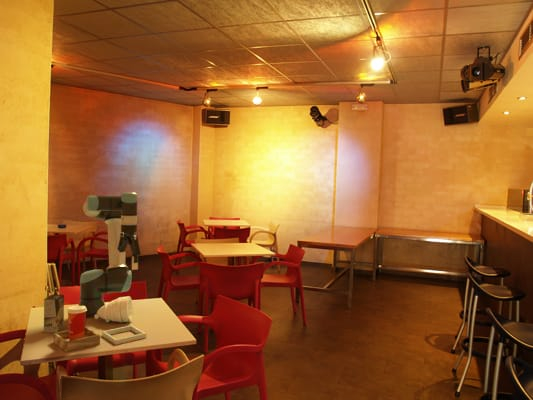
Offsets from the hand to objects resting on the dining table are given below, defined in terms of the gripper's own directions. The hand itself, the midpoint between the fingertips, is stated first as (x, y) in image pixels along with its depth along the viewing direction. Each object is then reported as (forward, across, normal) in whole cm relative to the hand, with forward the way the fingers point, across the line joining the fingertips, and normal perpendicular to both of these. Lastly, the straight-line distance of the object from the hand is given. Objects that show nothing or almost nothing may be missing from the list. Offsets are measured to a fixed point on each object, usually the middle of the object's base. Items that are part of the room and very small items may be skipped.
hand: (128, 267), depth 222 cm
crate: (+31, +4, -26) cm, 40 cm away
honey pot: (+24, -10, +6) cm, 26 cm away
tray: (+31, +9, -6) cm, 33 cm away
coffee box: (+31, -21, -28) cm, 47 cm away
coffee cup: (+30, +4, -26) cm, 40 cm away
